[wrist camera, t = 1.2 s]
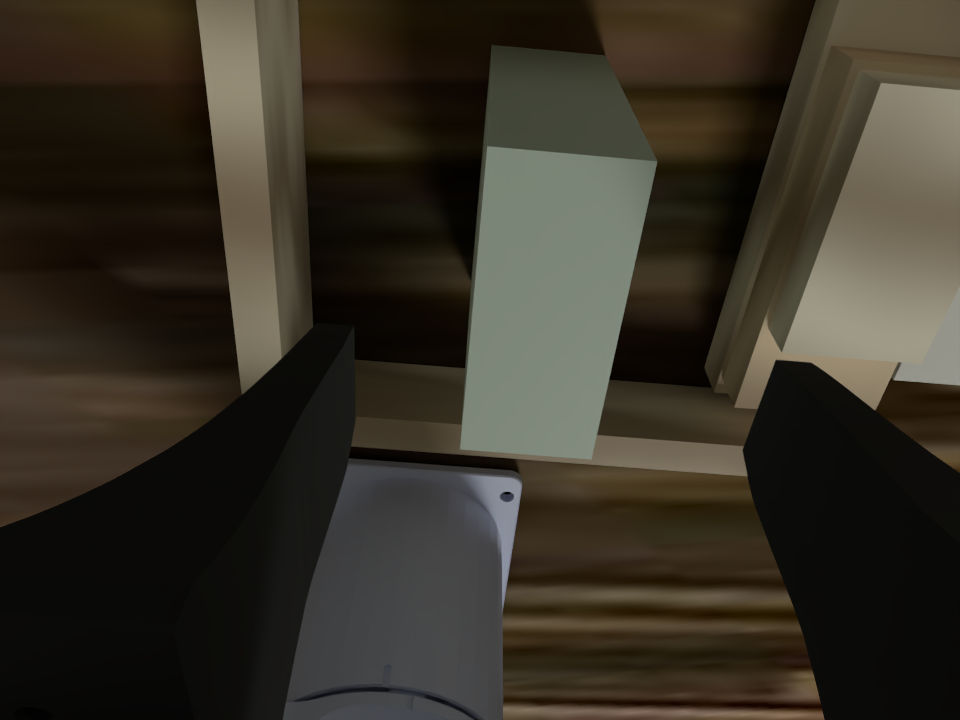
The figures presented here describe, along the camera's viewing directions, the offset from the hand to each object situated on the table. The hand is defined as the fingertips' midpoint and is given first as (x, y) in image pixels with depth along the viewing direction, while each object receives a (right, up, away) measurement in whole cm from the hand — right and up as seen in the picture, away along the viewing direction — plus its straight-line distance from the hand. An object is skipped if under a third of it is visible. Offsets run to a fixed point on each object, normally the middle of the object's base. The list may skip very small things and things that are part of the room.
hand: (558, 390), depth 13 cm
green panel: (0, +6, +9) cm, 11 cm away
